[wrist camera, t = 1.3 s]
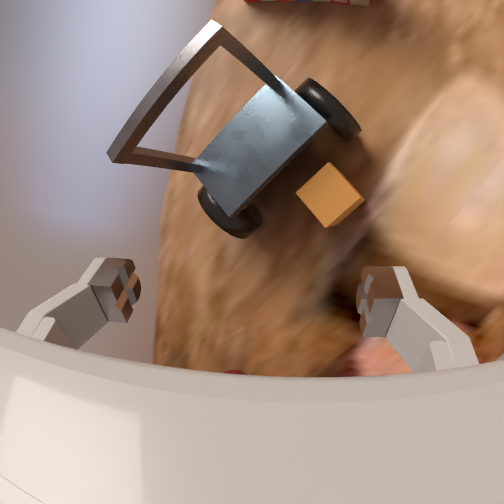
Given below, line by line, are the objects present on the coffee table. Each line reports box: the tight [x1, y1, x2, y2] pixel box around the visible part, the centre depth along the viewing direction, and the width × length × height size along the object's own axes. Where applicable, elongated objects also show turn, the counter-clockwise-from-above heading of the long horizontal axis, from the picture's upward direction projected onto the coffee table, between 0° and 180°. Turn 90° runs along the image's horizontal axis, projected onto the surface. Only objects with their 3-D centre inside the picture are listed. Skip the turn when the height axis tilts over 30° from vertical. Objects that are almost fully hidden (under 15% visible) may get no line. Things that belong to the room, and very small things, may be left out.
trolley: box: [107, 20, 362, 239], centre depth 31 cm, size 10×21×23 cm, turn 132°
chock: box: [296, 162, 365, 228], centre depth 35 cm, size 5×5×8 cm
